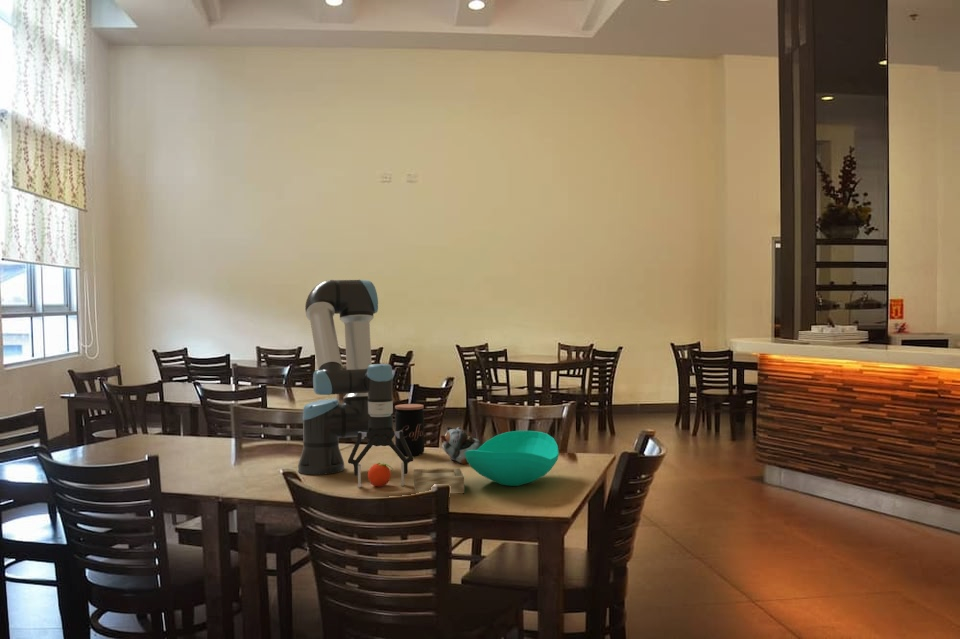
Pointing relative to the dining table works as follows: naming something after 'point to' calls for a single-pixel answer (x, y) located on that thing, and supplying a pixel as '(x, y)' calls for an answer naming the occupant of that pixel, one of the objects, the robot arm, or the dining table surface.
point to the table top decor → (515, 457)
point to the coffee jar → (410, 427)
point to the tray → (438, 479)
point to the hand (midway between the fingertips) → (381, 485)
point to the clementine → (379, 474)
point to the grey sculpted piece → (458, 444)
